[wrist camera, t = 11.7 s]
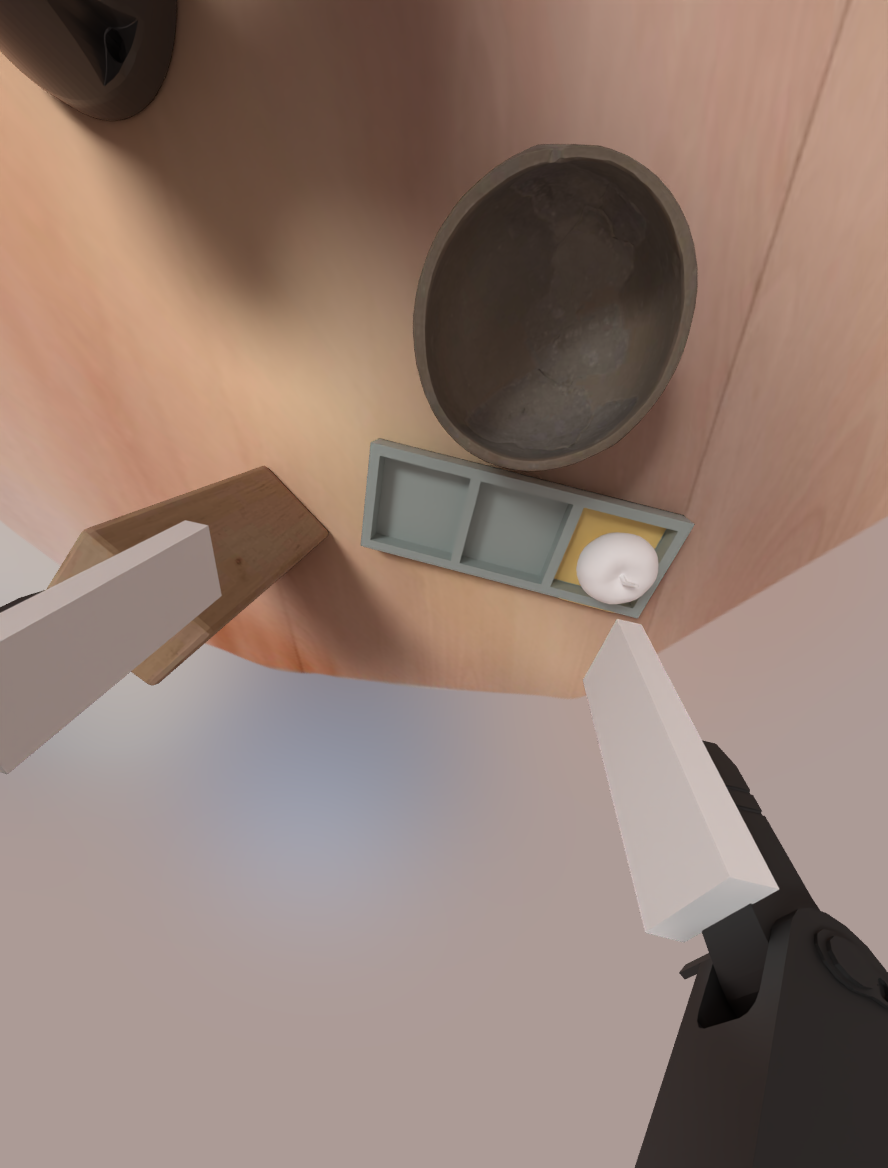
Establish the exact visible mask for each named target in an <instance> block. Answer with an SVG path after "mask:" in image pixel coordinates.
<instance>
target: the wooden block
mask: <svg viewBox="0 0 888 1168" xmlns="http://www.w3.org/2000/svg"><path fill="white" fill-rule="evenodd" d="M185 520H186V521H191V522H195V523H200V524H204V525H208V526H209V531H210V536H211V542H212V547H213V552H214V558H215V563H216V568H217V573H218V579H219V584H220V589H221V595H222V596H221V597H220V598H219V599H217V600H216V601H215V602H214V603H213V604H211V605H210V606H209V607H208V608H207V609H205V610H204V611H203V612H202V613H201V614H199V615H198V616H197V617H196V618H195V619H193V620H192V621H191V622H190V623H189V624H187V625H186V626H185V627H184V628H183V629H181V630H180V631H179V632H178V633H177V634H175V635H174V636H173V637H172V638H171V639H169V640H168V641H167V642H166V643H165V644H163V645H162V646H161V647H160V648H159V649H157V650H156V651H155V652H154V653H153V654H151V655H150V656H149V657H148V658H147V659H145V660H144V661H143V662H142V663H141V664H139V665H138V666H137V667H136V668H134V669H133V670H132V671H131V672H132V673H134V674H135V675H136V676H138V677H139V678H140V679H142V680H143V681H145V682H146V683H147V684H149V685H155V684H158V683H160V682H161V681H162V680H163V679H164V678H165V677H166V676H168V675H169V674H170V673H171V672H172V671H173V670H174V669H176V668H177V667H178V666H179V665H180V664H181V663H183V662H184V660H186V659H187V658H188V657H189V656H191V655H192V654H193V653H194V652H195V651H196V650H197V649H199V648H200V647H201V646H202V645H203V644H204V643H206V642H207V641H208V640H209V639H210V638H211V637H212V636H214V635H215V634H216V633H217V632H218V631H219V630H221V629H222V628H223V627H224V626H225V625H226V624H227V623H229V622H230V621H231V620H232V619H233V618H234V617H235V616H237V615H238V614H239V613H240V612H241V611H242V610H244V609H245V608H246V607H247V606H248V605H249V604H250V603H252V602H253V601H254V600H255V599H256V598H257V597H258V596H260V595H261V594H262V593H263V592H264V591H265V590H267V589H268V588H269V587H270V586H271V585H272V584H273V583H275V582H276V581H277V580H278V579H279V578H280V577H281V576H283V575H284V574H285V573H286V572H287V571H288V570H289V569H291V568H292V567H293V566H294V565H295V564H296V563H297V562H299V561H300V560H301V559H302V558H303V557H304V556H305V555H306V554H308V553H309V552H310V551H311V550H312V549H313V548H314V547H316V546H317V545H318V544H319V543H320V542H321V541H322V540H324V539H325V538H326V537H327V535H328V531H327V530H326V529H325V528H324V527H323V526H322V525H321V524H320V522H319V521H318V520H317V519H316V518H315V517H314V516H313V515H312V514H311V513H310V512H309V511H308V510H307V509H306V508H305V507H304V506H303V505H302V504H301V503H300V501H299V500H298V499H297V498H296V497H295V496H294V495H293V494H292V493H291V492H290V491H289V490H288V489H287V488H286V487H285V486H284V485H283V484H282V483H281V481H280V480H279V479H278V478H277V477H276V476H275V475H274V474H273V473H272V472H271V471H270V470H269V469H268V468H267V467H265V466H261V467H259V468H256V469H253V470H250V471H247V472H245V473H242V474H239V475H236V476H233V477H230V478H228V479H225V480H222V481H219V482H216V483H214V484H211V485H208V486H205V487H202V488H200V489H197V490H194V491H191V492H188V493H185V494H183V495H180V496H177V497H174V498H171V499H169V500H166V501H163V502H160V503H157V504H155V505H152V506H149V507H146V508H143V509H140V510H138V511H135V512H132V513H129V514H126V515H124V516H121V517H118V518H115V519H112V520H109V521H107V522H104V523H101V524H98V525H95V526H93V527H90V528H87V529H85V530H84V531H83V532H82V533H81V534H80V536H79V538H78V539H77V541H76V542H75V544H74V546H73V547H72V549H71V550H70V552H69V554H68V555H67V557H66V559H65V560H64V562H63V563H62V565H61V567H60V568H59V570H58V572H57V573H56V575H55V576H54V578H53V580H52V581H51V583H50V585H49V586H48V588H47V589H49V588H51V587H53V586H55V585H57V584H59V583H61V582H63V581H65V580H67V579H69V578H71V577H73V576H75V575H77V574H79V573H81V572H83V571H85V570H87V569H89V568H91V567H93V566H95V565H97V564H99V563H101V562H103V561H105V560H107V559H109V558H111V557H113V556H115V555H117V554H119V553H121V552H123V551H125V550H127V549H129V548H131V547H133V546H135V545H137V544H139V543H141V542H143V541H145V540H147V539H149V538H151V537H153V536H155V535H157V534H159V533H161V532H163V531H165V530H167V529H169V528H171V527H173V526H175V525H177V524H179V523H181V522H183V521H185ZM47 589H46V590H47Z"/></svg>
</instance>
